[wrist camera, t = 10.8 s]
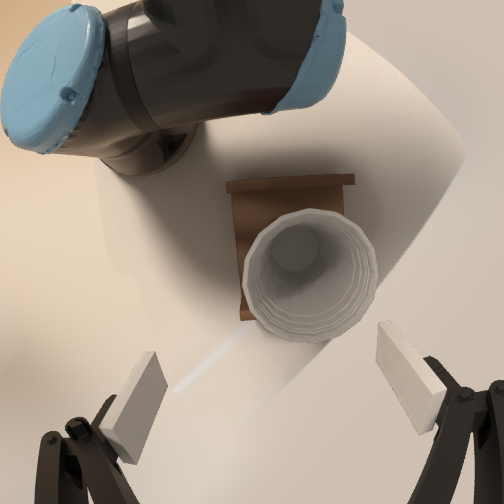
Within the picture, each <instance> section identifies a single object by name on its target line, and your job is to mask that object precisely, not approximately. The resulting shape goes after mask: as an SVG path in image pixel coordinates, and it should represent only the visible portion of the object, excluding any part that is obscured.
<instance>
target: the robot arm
mask: <svg viewBox="0 0 504 504" xmlns="http://www.w3.org/2000/svg"><path fill="white" fill-rule="evenodd" d="M343 7H344V3H343V0H140V1H137V2H134V3H131V4H128V5H126V6H123V7H120V8H117V9H115V10H112V11H110V12H108V13H105V14H101V12H100V11H99V10H98V9H97V8H96V7H94V6H88V5H81V4H70V5H67V6H64V7H62V8H59V9H58V10H56V11H54V12H53V13H51V14H50V15H48V16H47V17H45V18H44V19H43V20H42V21H41V22H40V23H39V24H38V25H36V26H35V28H34V29H33V30H32V31H31V32H30V33H29V35H28V36H27V37H26V38H25V39H24V41H23V42H22V44H21V45H20V47H19V48H18V50H17V52H16V54H15V57H14V58H13V60H12V62H11V64H10V66H9V69H8V71H7V74H6V77H5V80H4V83H3V88H2V93H1V102H0V116H1V122H2V126H3V129H4V132H5V134H6V135H7V136H8V137H9V139H10V141H11V142H12V143H13V144H14V145H15V146H17V147H18V148H21V149H24V150H29V151H34V152H36V153H38V154H42V155H44V154H51V153H54V154H67V155H78V156H89V157H98V158H99V159H100V160H101V161H102V162H103V163H104V164H105V165H106V166H108V167H109V168H110V169H112V170H114V171H116V172H119V173H122V174H126V175H137V176H142V175H149V174H153V173H157V172H159V171H161V170H163V169H165V168H167V167H169V166H170V165H172V164H173V163H174V162H175V161H177V160H178V159H179V158H180V157H181V156H182V154H183V153H184V152H185V151H186V149H187V148H188V146H189V145H190V143H191V141H192V139H193V137H194V134H195V131H196V128H197V122H203V121H208V120H214V119H220V118H226V117H233V116H240V115H248V114H256V113H261V114H262V115H271V114H274V113H277V112H278V111H284V110H293V109H302V108H308V107H311V106H313V105H314V104H316V103H318V102H319V101H321V100H322V99H323V98H324V97H325V96H326V95H327V94H328V93H329V91H330V90H331V88H332V87H333V85H334V83H335V81H336V78H337V76H338V73H339V70H340V67H341V64H342V59H343V55H344V49H345V42H346V18H345V17H344V16H342V11H343ZM376 362H377V364H378V365H379V367H380V369H381V370H382V372H383V374H384V375H385V377H386V379H387V380H388V382H389V384H390V386H391V387H392V389H393V391H394V392H395V394H396V396H397V397H398V399H399V401H400V403H401V405H402V406H403V408H404V410H405V412H406V413H407V415H408V417H409V418H410V421H411V422H412V424H413V426H414V428H415V429H416V431H417V433H418V435H421V434H424V433H426V432H429V431H431V430H433V427H434V424H435V422H436V423H437V425H438V427H439V428H438V431H437V433H436V436H435V438H434V443H433V446H432V448H431V451H430V454H429V457H428V459H427V462H426V464H425V466H424V469H423V471H422V474H421V476H420V478H419V480H418V483H417V485H416V487H415V489H414V491H413V493H412V495H411V497H410V500H409V502H408V503H407V504H450V502H451V500H452V497H453V494H454V491H455V489H456V486H457V483H458V479H459V476H460V473H461V470H462V466H463V463H464V459H465V455H466V451H467V447H468V443H469V439H470V433H471V432H473V436H474V455H475V487H474V504H504V380H497V381H494V382H493V383H491V386H490V387H489V390H486V391H480V392H475V391H474V390H472V389H471V388H468V387H461V386H460V385H459V384H458V383H457V382H456V381H455V379H454V378H453V377H452V376H451V375H450V374H449V372H447V371H446V369H445V368H444V367H443V366H442V364H441V363H440V362H439V361H438V360H437V359H435V358H433V357H431V356H428V357H425V358H422V357H421V356H420V355H419V354H418V352H417V351H416V350H415V349H414V348H413V346H412V345H411V344H410V343H409V342H408V341H407V339H406V338H405V337H404V336H403V335H402V334H401V332H400V331H399V330H398V329H397V328H396V327H395V326H394V324H392V322H391V321H390V320H389V321H385V322H380V323H378V338H377V353H376ZM167 387H168V385H167V383H166V380H165V377H164V375H163V372H162V369H161V367H160V364H159V361H158V359H157V356H156V353H155V351H149V352H143V354H142V355H141V357H140V358H139V360H138V362H137V363H136V365H135V367H134V368H133V370H132V371H131V373H130V375H129V377H128V378H127V380H126V381H125V383H124V385H123V386H122V388H121V390H120V391H119V393H118V395H111V396H110V397H109V398H108V399H107V400H106V401H105V403H104V404H103V406H102V408H101V409H100V410H99V412H98V414H97V415H96V417H95V419H94V420H93V422H92V423H91V425H90V424H89V422H88V421H87V420H86V419H85V418H83V417H76V418H73V419H71V420H69V421H68V422H67V424H66V426H65V430H66V432H67V433H68V435H69V436H70V437H71V438H63V437H62V436H61V435H60V433H59V432H57V431H50V432H48V433H46V434H45V435H44V436H43V437H42V439H41V444H40V450H39V457H38V465H37V474H36V484H35V502H34V504H89V502H88V490H89V492H90V495H91V497H92V500H93V502H94V504H140V503H139V502H138V500H137V498H136V496H135V495H134V493H133V491H132V489H131V487H130V486H129V484H128V482H127V480H126V478H125V476H124V474H123V472H122V470H121V468H120V466H119V464H118V463H117V462H116V461H117V458H118V456H119V457H120V459H121V460H122V461H123V462H124V463H128V464H134V465H137V463H138V461H139V458H140V455H141V453H142V450H143V448H144V445H145V442H146V440H147V437H148V435H149V432H150V429H151V427H152V425H153V422H154V420H155V417H156V415H157V412H158V410H159V407H160V405H161V402H162V399H163V397H164V394H165V392H166V390H167ZM87 487H88V490H87Z"/></svg>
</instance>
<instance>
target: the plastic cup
mask: <svg viewBox="0 0 504 504" xmlns="http://www.w3.org/2000/svg"><path fill="white" fill-rule="evenodd" d="M378 276H379V270H378V265H377V260H376V255H375V250H374V247H373V245H372V244H371V242H370V241H369V239H368V238H367V237H366V235H365V234H364V232H363V231H362V229H361V228H360V226H358V225H357V224H355V223H354V222H352V221H350V220H349V219H347V218H345V217H344V216H342V215H341V214H339V213H337V212H333V211H326V210H319V209H311V208H308V209H304V210H300V211H297V212H293V213H290V214H286V215H283V216H280V217H279V218H278V219H277V220H275V221H274V222H273V223H272V224H270V225H269V226H268V227H267V228H265V229H264V230H263V231H262V232H260V233H259V234H258V236H257V238H256V239H255V241H254V243H253V245H252V247H251V248H250V250H249V252H248V254H247V256H246V258H245V262H244V272H243V282H242V287H243V290H244V294H245V297H246V300H247V303H248V306H249V309H250V312H251V313H252V314H253V315H254V316H255V317H256V318H257V320H258V321H259V322H260V323H261V324H262V325H263V326H264V328H265V329H266V330H267V331H269V332H271V333H273V334H275V335H277V336H279V337H281V338H283V339H285V340H288V341H290V342H302V343H318V342H321V341H325V340H328V339H332V338H335V337H338V336H340V335H342V334H343V333H344V332H346V331H347V330H348V329H350V328H351V327H352V326H354V325H355V324H356V323H358V322H359V321H360V320H361V318H362V317H363V315H364V314H365V312H366V311H367V309H368V308H369V306H370V304H371V303H372V301H373V300H374V296H375V292H376V287H377V282H378Z"/></svg>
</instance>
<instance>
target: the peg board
mask: <svg viewBox="0 0 504 504" xmlns="http://www.w3.org/2000/svg"><path fill="white" fill-rule="evenodd" d="M342 185H355V177H354V174H329V175H307V176H289V177H275V178H262V179H250V180H239V181H229V182H226V189H227V193H231V196H232V207H233V217H234V227H235V237H236V247H237V256H238V266H239V275H240V285H241V294H242V297H241V305H240V320H241V321H245V320H257V318H256V317H255V316H254V315H253V314H252V313H251V312H250V309H249V306H248V303H247V300H246V297H245V294H244V290H243V287H242V282H243V272H244V262H245V258H246V256H247V254H248V252H249V250H250V248H251V247H252V245H253V243H254V241H255V239H256V238H257V236H258V234H259V233H260V232H262V231H263V230H264V229H265V228H267V227H268V226H269V225H270V224H272V223H273V222H274V221H275V220H277V219H278V218H279V217H280V216H283V215H286V214H290V213H293V212H297V211H300V210H304V209H308V208H311V209H319V210H326V211H333V212H337V213H339V214H341V215H342V216H344V206H343V189H342Z"/></svg>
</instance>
